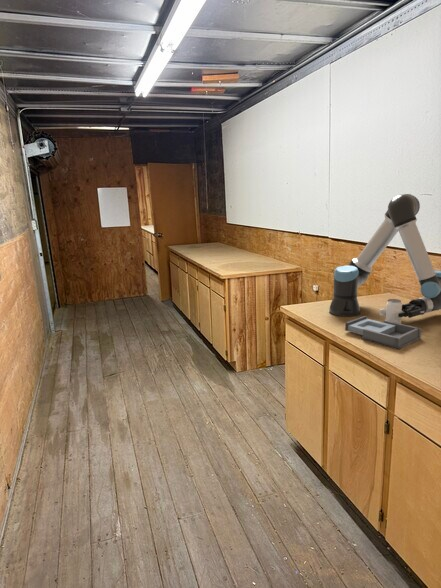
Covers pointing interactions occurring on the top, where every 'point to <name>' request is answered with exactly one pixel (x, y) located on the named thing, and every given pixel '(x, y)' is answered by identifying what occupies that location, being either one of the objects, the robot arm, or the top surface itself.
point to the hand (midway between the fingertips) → (386, 314)
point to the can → (393, 309)
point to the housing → (394, 336)
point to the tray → (368, 326)
